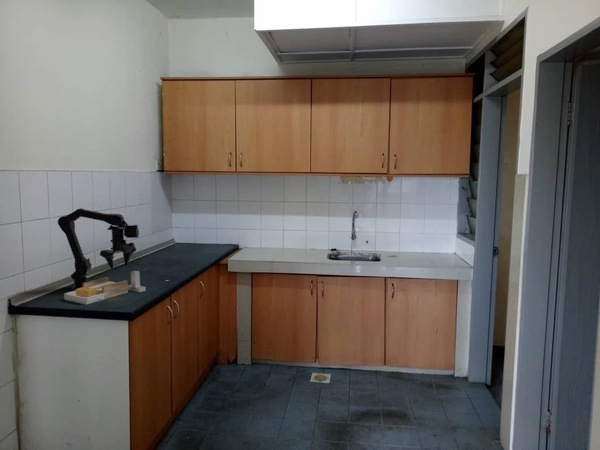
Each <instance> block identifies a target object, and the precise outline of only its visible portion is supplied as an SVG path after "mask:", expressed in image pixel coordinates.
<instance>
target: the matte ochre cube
mask: <svg viewBox="0 0 600 450" xmlns="http://www.w3.org/2000/svg"><path fill="white" fill-rule="evenodd" d="M87 289H89V288H84V287H82V288H78V289H76V290H75V291H76V296H80V297H83V290H87Z"/></svg>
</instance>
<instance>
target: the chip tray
mask: <svg viewBox="0 0 600 450" xmlns="http://www.w3.org/2000/svg"><path fill="white" fill-rule="evenodd" d="M63 300H64V301H68V302H73V303H76V304H77V303H78V304H81V305H85V306H86V305H89V304H92V303H96V302H100V301H104V300H105V299H104V293H101V294H98V295H94V296H91V297H87V298H85V297H80V296H76V290H73V291H69V292H65V293H63Z"/></svg>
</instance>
